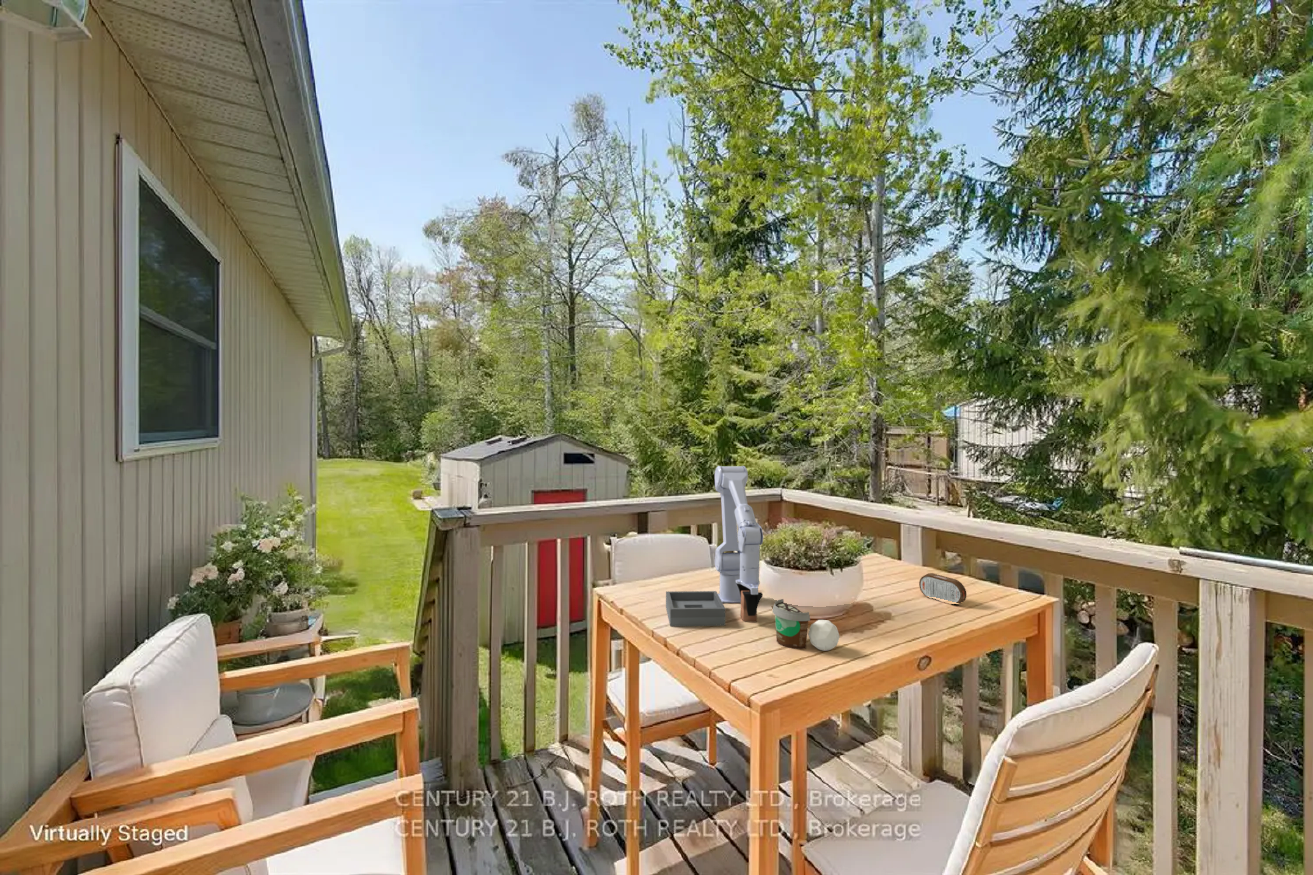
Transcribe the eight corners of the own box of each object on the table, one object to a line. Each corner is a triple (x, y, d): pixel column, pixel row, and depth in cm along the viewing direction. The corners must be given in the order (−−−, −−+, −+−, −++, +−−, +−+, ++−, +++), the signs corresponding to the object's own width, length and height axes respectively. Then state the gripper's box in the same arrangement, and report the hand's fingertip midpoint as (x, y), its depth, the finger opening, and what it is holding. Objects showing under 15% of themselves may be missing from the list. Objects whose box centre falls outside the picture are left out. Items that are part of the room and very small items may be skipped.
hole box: (715, 606, 182) (716, 591, 182) (725, 625, 166) (725, 608, 166) (665, 607, 181) (666, 591, 181) (670, 626, 165) (670, 609, 165)
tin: (966, 607, 185) (967, 581, 184) (961, 608, 183) (962, 582, 182) (922, 594, 197) (923, 570, 197) (917, 595, 195) (918, 571, 195)
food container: (762, 636, 159) (763, 600, 158) (781, 633, 161) (782, 598, 160) (789, 654, 147) (790, 615, 147) (809, 650, 150) (810, 612, 149)
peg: (753, 616, 174) (754, 590, 173) (756, 621, 170) (757, 594, 169) (740, 616, 174) (741, 590, 173) (743, 621, 170) (743, 594, 169)
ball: (818, 655, 153) (817, 625, 157) (846, 653, 148) (843, 622, 152) (803, 648, 149) (802, 617, 153) (831, 645, 144) (829, 613, 148)
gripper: (731, 559, 178) (730, 602, 178) (741, 572, 163) (740, 619, 164) (753, 559, 178) (753, 602, 179) (765, 572, 164) (764, 619, 164)
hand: (748, 610), depth 172 cm, fingers open, 7 cm apart
